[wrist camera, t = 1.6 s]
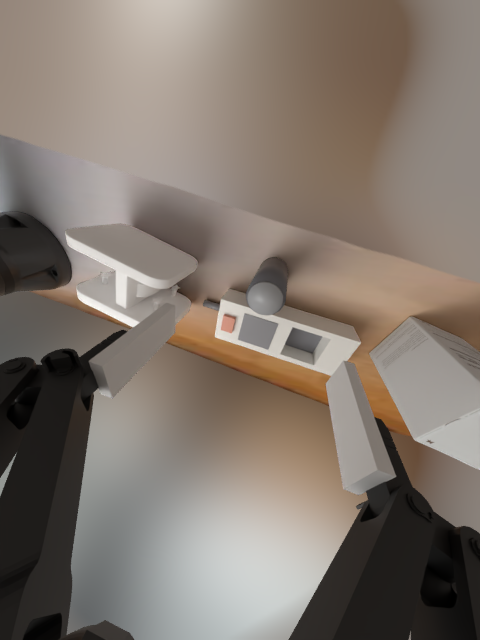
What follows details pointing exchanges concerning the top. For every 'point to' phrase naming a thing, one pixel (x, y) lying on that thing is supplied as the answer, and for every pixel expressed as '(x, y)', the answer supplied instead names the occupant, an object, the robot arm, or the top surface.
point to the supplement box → (434, 387)
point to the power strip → (285, 333)
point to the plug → (268, 287)
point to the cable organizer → (131, 272)
